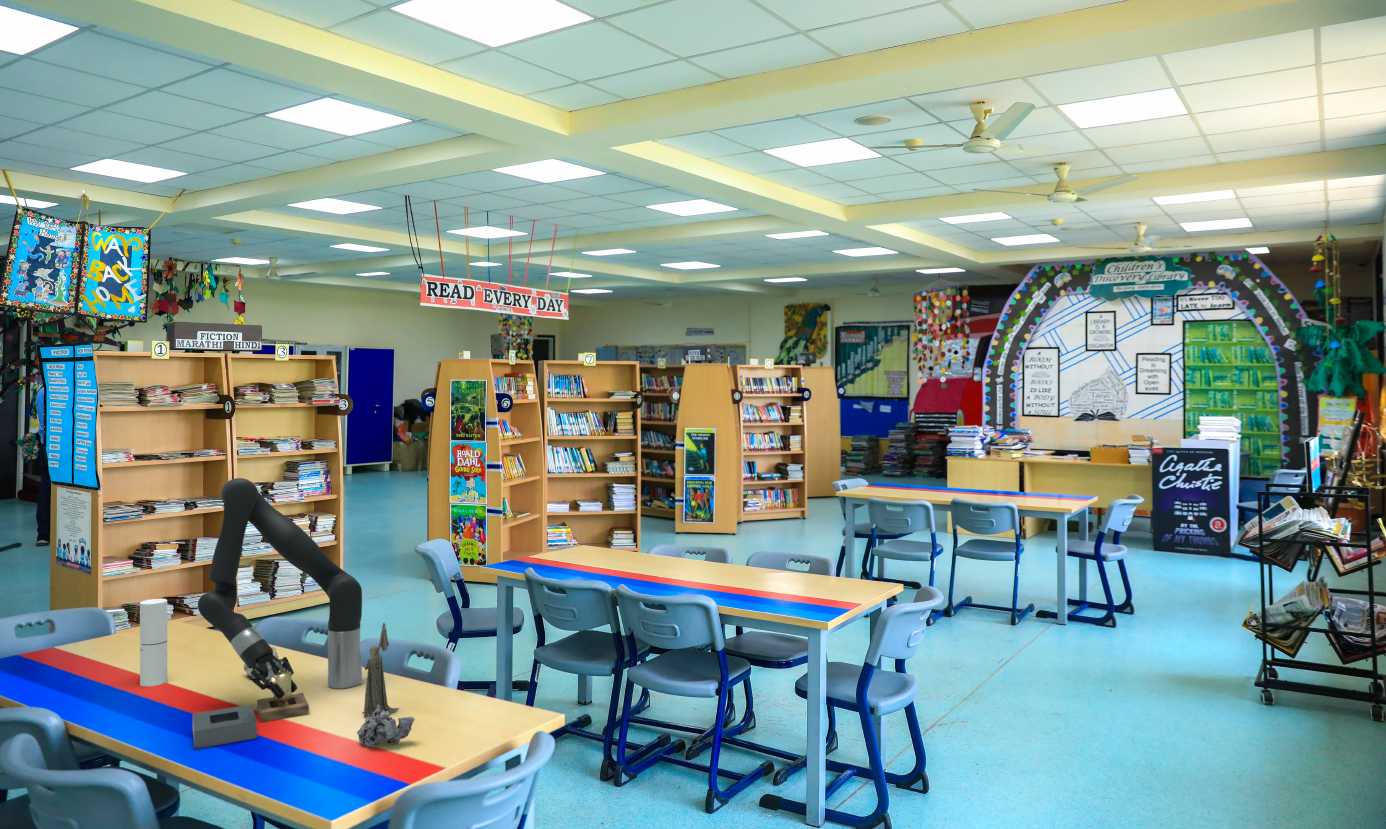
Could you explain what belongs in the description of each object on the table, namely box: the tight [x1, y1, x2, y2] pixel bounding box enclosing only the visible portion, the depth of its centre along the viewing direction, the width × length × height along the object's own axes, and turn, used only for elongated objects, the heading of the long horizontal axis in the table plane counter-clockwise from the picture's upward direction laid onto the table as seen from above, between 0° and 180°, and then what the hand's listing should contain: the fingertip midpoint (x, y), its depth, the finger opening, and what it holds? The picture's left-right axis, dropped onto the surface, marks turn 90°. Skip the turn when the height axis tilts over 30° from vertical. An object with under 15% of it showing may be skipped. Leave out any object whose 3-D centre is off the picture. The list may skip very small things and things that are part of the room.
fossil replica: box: [243, 646, 280, 676], centre depth 278 cm, size 12×8×10 cm
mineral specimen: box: [356, 705, 416, 748], centre depth 225 cm, size 13×10×11 cm
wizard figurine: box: [362, 622, 400, 719], centre depth 247 cm, size 10×8×25 cm
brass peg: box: [273, 670, 292, 707], centre depth 247 cm, size 4×4×10 cm
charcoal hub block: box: [192, 704, 258, 750], centre depth 230 cm, size 14×14×4 cm
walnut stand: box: [256, 692, 310, 723], centre depth 247 cm, size 12×12×2 cm
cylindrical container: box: [139, 598, 168, 687], centre depth 270 cm, size 7×7×25 cm
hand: (288, 693), depth 246 cm, fingers closed on brass peg, 4 cm apart
